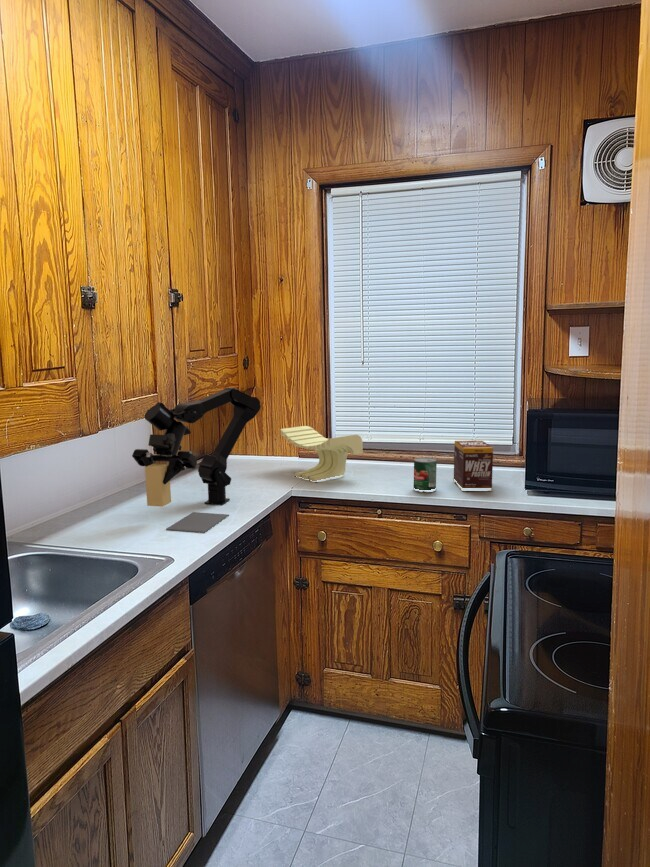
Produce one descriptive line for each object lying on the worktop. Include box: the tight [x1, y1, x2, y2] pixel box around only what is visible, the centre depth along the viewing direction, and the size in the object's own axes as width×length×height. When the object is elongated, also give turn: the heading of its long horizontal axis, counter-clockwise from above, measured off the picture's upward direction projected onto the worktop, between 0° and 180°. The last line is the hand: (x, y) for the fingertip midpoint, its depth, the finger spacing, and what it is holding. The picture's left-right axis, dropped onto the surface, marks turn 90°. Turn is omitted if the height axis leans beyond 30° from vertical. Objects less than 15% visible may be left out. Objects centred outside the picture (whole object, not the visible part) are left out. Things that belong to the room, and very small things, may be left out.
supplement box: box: [453, 440, 494, 489], centre depth 224 cm, size 10×15×16 cm
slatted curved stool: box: [280, 425, 364, 481], centre depth 241 cm, size 30×16×18 cm, turn 40°
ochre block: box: [144, 463, 172, 508], centre depth 183 cm, size 5×5×12 cm
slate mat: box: [165, 511, 230, 534], centre depth 185 cm, size 17×12×1 cm
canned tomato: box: [413, 456, 438, 490], centre depth 220 cm, size 8×8×11 cm
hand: (155, 483), depth 182 cm, fingers closed on ochre block, 5 cm apart
